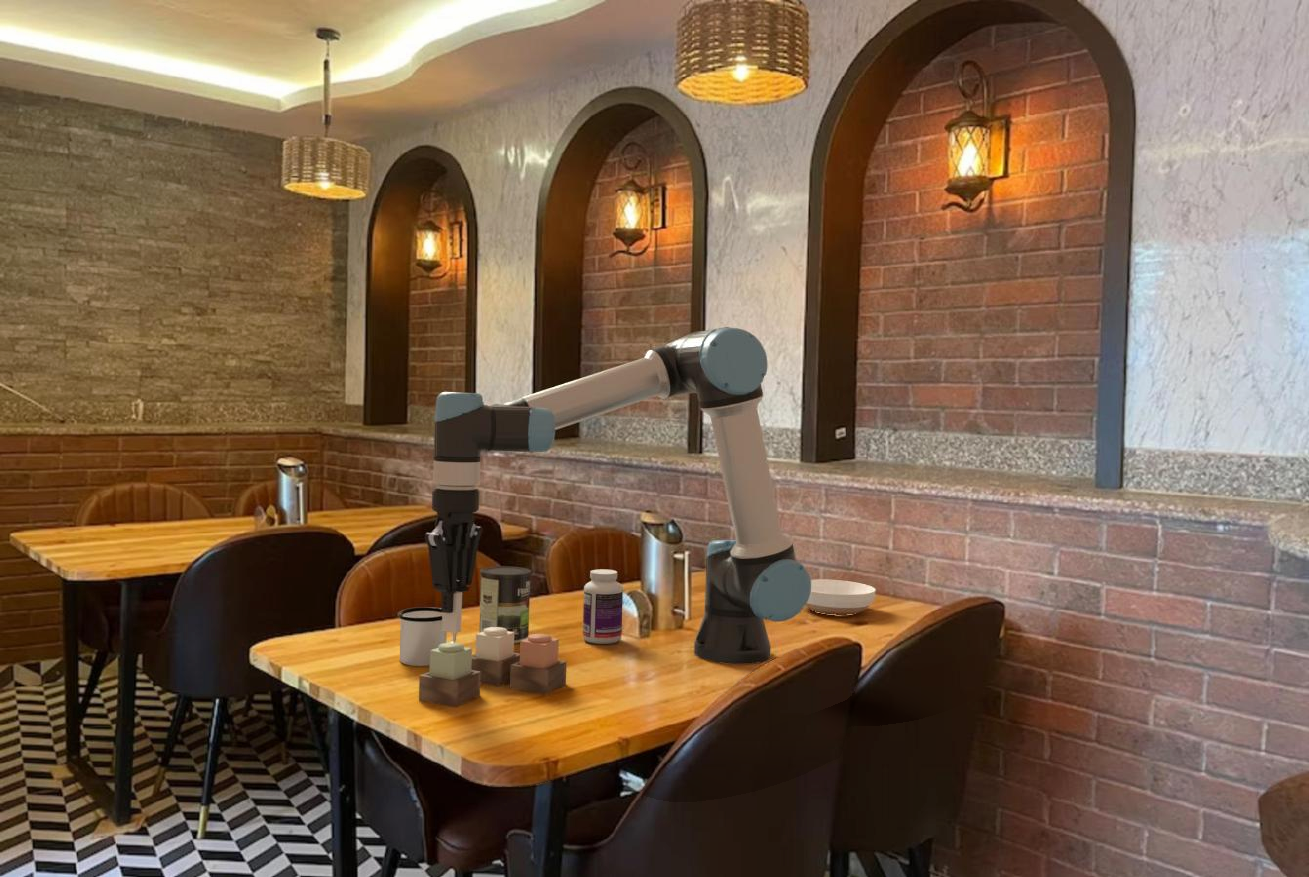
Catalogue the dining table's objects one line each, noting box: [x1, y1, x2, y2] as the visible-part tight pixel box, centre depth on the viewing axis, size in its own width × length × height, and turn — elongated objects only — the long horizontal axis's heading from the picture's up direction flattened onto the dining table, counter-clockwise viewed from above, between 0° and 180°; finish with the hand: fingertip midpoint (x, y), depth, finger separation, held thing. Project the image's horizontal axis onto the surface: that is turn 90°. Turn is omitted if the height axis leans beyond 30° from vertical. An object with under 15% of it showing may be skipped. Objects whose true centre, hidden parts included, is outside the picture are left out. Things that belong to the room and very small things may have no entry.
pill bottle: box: [582, 568, 624, 645], centre depth 200 cm, size 8×8×14 cm
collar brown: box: [509, 659, 567, 696], centre depth 167 cm, size 7×7×4 cm
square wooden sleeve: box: [471, 652, 520, 687], centre depth 170 cm, size 7×7×4 cm
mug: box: [397, 606, 457, 667], centre depth 181 cm, size 12×10×9 cm
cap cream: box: [474, 627, 515, 662], centre depth 170 cm, size 5×5×7 cm
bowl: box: [804, 578, 877, 615], centre depth 238 cm, size 20×20×6 cm
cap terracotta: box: [519, 633, 560, 669], centre depth 167 cm, size 5×5×7 cm
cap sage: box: [428, 642, 473, 680], centre depth 158 cm, size 5×5×7 cm
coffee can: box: [478, 565, 532, 645], centre depth 199 cm, size 10×10×14 cm
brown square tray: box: [418, 670, 481, 708], centre depth 158 cm, size 7×7×4 cm
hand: (451, 631), depth 158 cm, fingers closed
